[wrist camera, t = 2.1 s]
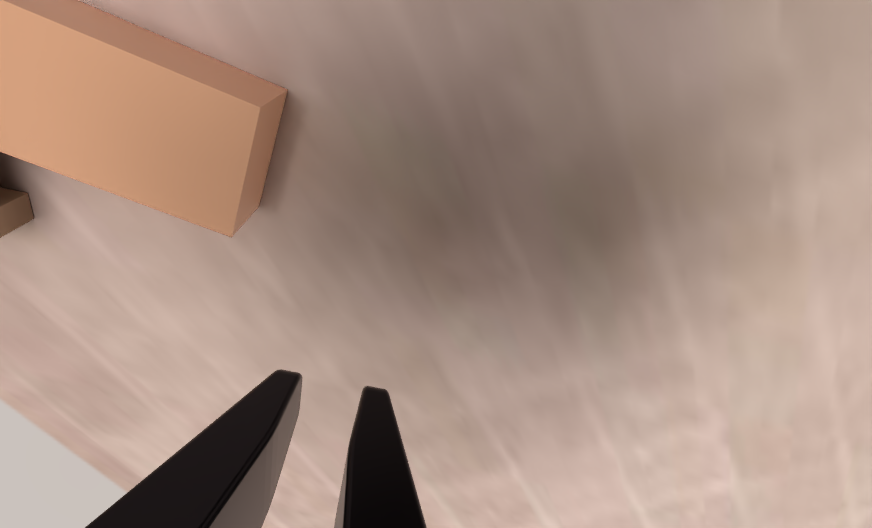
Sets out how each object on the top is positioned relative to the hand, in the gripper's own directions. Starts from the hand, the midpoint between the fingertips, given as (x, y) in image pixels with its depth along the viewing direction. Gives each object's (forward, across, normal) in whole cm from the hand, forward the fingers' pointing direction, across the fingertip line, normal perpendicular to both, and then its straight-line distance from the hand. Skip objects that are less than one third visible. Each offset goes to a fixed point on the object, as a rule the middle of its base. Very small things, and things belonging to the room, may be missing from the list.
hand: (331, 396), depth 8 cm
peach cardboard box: (+12, +9, 0) cm, 15 cm away
